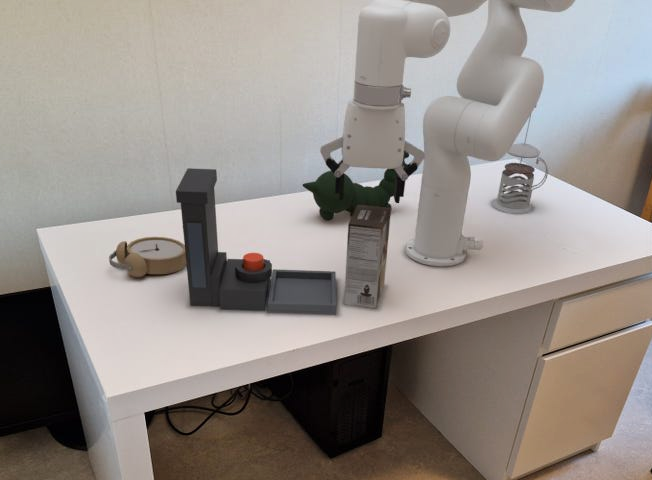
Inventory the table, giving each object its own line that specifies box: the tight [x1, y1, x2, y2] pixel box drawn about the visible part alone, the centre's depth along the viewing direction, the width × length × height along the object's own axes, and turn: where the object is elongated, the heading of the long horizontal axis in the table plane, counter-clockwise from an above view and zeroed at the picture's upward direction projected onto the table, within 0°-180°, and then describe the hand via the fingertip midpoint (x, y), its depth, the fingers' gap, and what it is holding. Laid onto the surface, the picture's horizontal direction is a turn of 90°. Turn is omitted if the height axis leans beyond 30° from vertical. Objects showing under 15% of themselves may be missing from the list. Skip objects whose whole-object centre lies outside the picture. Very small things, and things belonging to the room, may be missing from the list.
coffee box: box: [343, 205, 392, 309], centre depth 120 cm, size 9×6×16 cm
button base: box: [219, 258, 273, 312], centre depth 121 cm, size 9×12×6 cm
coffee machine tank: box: [175, 168, 228, 308], centre depth 117 cm, size 6×11×22 cm, turn 1°
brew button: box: [242, 252, 264, 271], centre depth 119 cm, size 4×4×2 cm
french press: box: [491, 103, 549, 215], centre depth 158 cm, size 10×12×25 cm
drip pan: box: [267, 268, 337, 316], centre depth 123 cm, size 12×13×2 cm
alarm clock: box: [108, 236, 187, 278], centre depth 129 cm, size 11×5×15 cm
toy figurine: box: [302, 151, 410, 222], centre depth 150 cm, size 9×19×25 cm
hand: (368, 199), depth 114 cm, fingers open, 9 cm apart
